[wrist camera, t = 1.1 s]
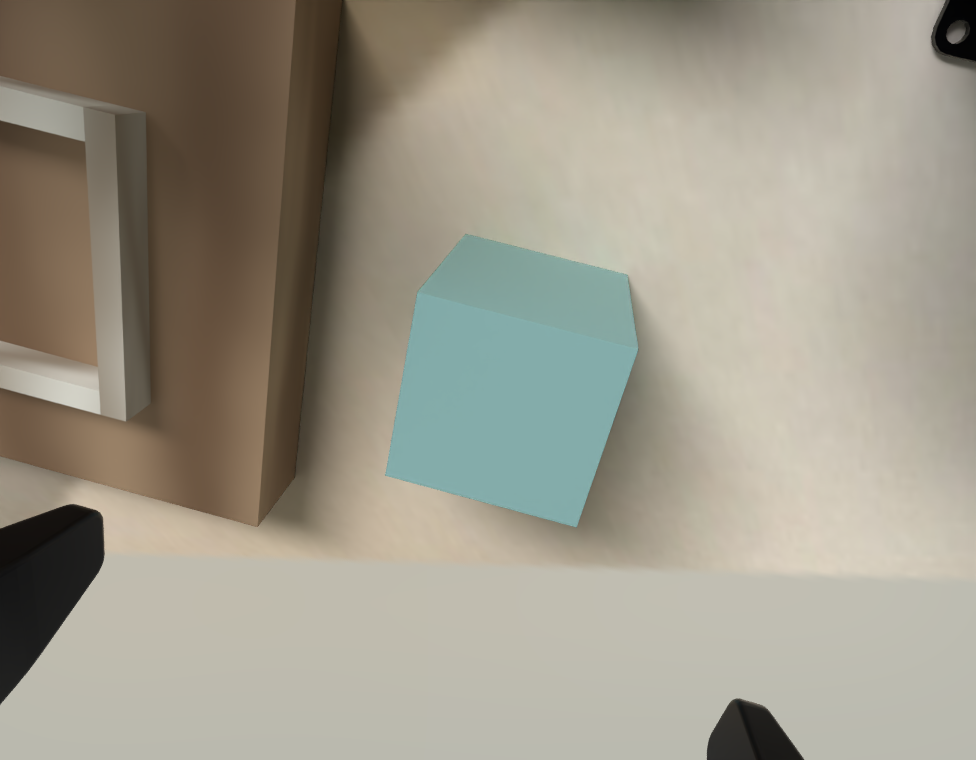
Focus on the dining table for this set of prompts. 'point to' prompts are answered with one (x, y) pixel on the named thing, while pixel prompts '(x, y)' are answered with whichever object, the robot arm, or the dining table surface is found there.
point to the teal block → (513, 378)
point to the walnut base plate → (161, 240)
